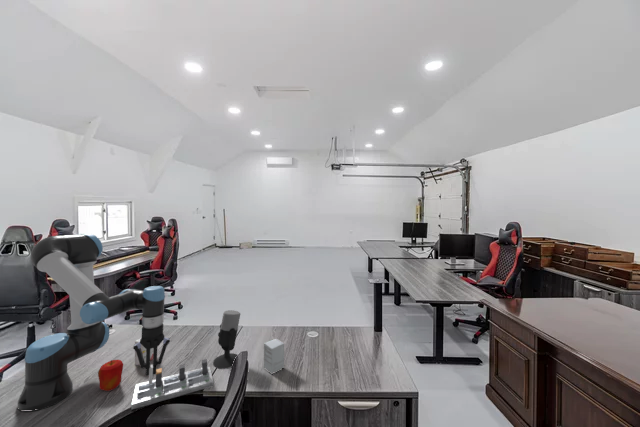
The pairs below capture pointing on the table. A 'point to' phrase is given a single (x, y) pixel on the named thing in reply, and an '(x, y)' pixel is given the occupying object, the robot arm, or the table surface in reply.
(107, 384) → the apple
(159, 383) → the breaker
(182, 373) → the breaker mid
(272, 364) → the supplement box
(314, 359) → the table surface
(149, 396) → the breaker panel
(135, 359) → the ink cartridge box
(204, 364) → the breaker right
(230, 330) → the microphone
